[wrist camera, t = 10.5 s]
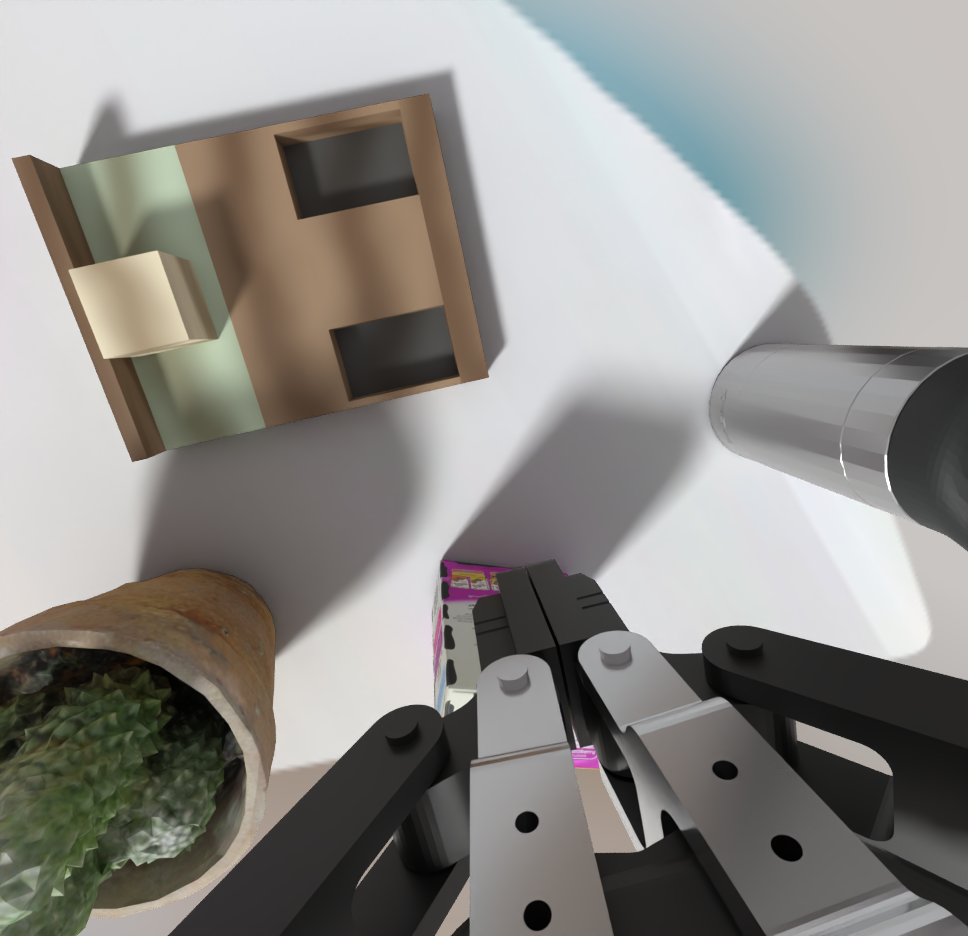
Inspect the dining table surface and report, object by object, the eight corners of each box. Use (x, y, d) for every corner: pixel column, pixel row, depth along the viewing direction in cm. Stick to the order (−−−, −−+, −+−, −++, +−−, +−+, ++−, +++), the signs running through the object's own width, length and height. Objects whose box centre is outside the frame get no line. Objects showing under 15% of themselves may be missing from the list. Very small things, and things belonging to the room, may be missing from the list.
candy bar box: (430, 613, 45) (431, 765, 29) (439, 558, 44) (444, 684, 28) (559, 626, 46) (626, 777, 30) (570, 573, 45) (647, 701, 29)
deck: (429, 109, 36) (429, 74, 31) (485, 374, 40) (492, 380, 36) (69, 183, 35) (11, 158, 30) (168, 446, 39) (132, 461, 35)
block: (191, 261, 34) (157, 250, 30) (218, 339, 36) (189, 339, 31) (114, 278, 34) (68, 269, 30) (143, 356, 35) (103, 358, 31)
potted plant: (134, 481, 40) (-321, 705, 16) (361, 585, 44) (275, 894, 19) (45, 677, 43) (-452, 1117, 19) (265, 758, 46) (87, 1213, 22)
